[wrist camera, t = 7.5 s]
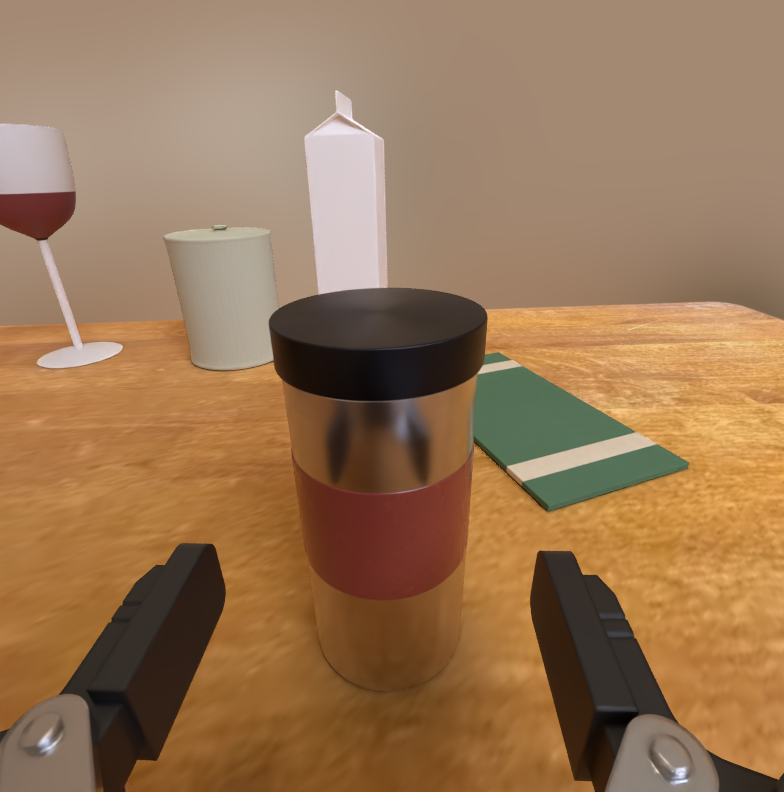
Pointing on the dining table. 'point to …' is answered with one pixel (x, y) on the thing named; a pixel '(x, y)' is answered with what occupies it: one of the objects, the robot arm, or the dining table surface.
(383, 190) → the milk
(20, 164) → the wineglass
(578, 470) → the towel
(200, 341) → the can
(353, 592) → the jar
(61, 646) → the dining table surface
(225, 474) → the dining table surface
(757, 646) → the dining table surface
